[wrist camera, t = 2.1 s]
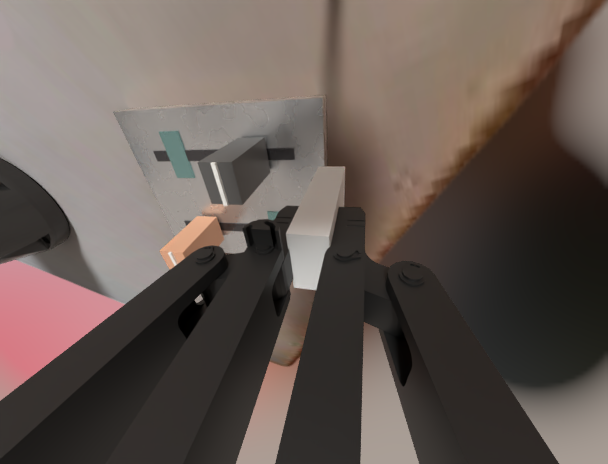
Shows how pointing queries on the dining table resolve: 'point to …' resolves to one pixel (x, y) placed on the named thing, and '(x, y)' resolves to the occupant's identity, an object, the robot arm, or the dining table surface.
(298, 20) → the dining table surface
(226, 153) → the fader black
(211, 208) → the console
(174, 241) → the block
